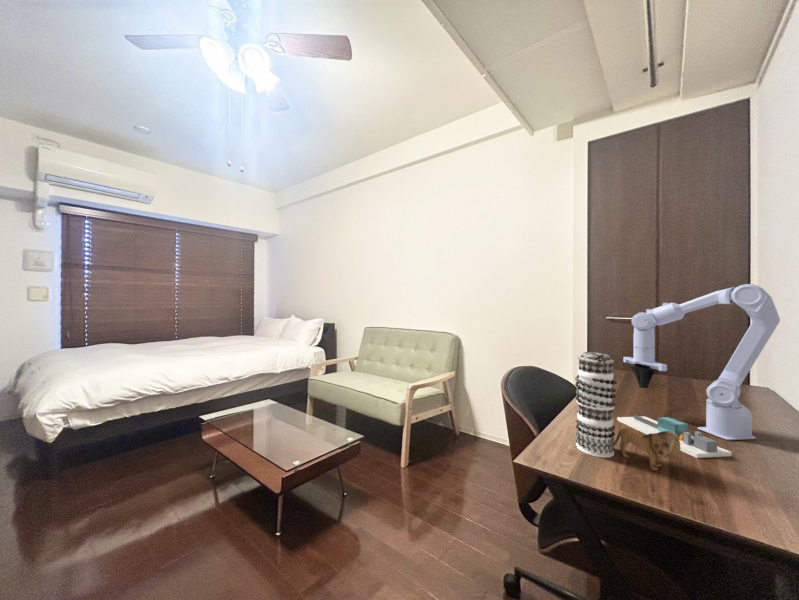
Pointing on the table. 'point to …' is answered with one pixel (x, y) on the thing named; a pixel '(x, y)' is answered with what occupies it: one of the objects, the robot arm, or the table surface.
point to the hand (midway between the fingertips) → (643, 387)
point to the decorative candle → (595, 404)
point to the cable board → (688, 443)
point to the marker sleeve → (672, 425)
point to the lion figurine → (650, 444)
